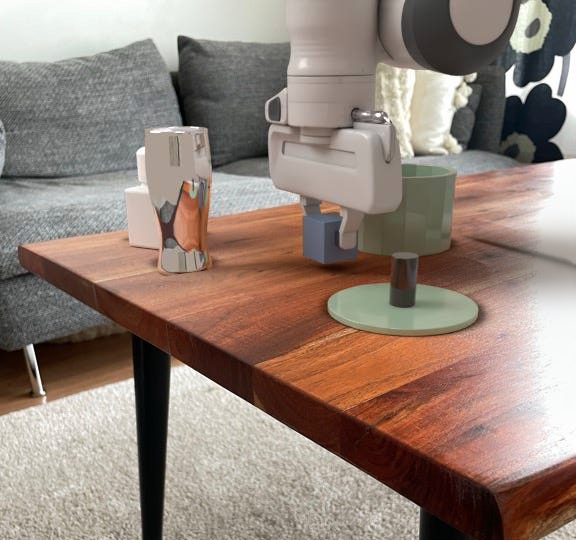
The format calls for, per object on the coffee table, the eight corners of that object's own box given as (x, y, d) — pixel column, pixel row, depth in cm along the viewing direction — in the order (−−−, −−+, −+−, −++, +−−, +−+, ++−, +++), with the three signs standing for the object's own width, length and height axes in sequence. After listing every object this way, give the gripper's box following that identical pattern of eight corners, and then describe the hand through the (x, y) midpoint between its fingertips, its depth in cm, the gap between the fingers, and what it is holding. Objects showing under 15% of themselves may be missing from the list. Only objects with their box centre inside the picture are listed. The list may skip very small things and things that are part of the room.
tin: (406, 232, 98) (410, 160, 94) (471, 252, 88) (479, 172, 84) (328, 243, 92) (330, 167, 88) (388, 265, 82) (393, 181, 78)
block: (335, 250, 82) (336, 211, 80) (358, 258, 78) (359, 218, 76) (302, 255, 80) (302, 215, 78) (323, 264, 76) (324, 222, 74)
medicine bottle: (161, 235, 97) (154, 141, 92) (206, 240, 94) (201, 144, 89) (128, 246, 91) (118, 147, 86) (175, 252, 88) (168, 150, 83)
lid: (412, 286, 75) (416, 232, 72) (509, 325, 64) (517, 262, 62) (300, 307, 69) (300, 248, 66) (386, 354, 58) (390, 285, 55)
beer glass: (206, 279, 77) (198, 132, 71) (144, 276, 78) (132, 131, 72) (223, 263, 84) (217, 126, 77) (165, 260, 85) (155, 125, 78)
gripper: (422, 110, 66) (413, 258, 72) (305, 101, 82) (306, 222, 88) (366, 113, 63) (362, 267, 69) (257, 103, 79) (261, 229, 85)
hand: (330, 242), depth 78 cm, fingers closed on block, 4 cm apart
